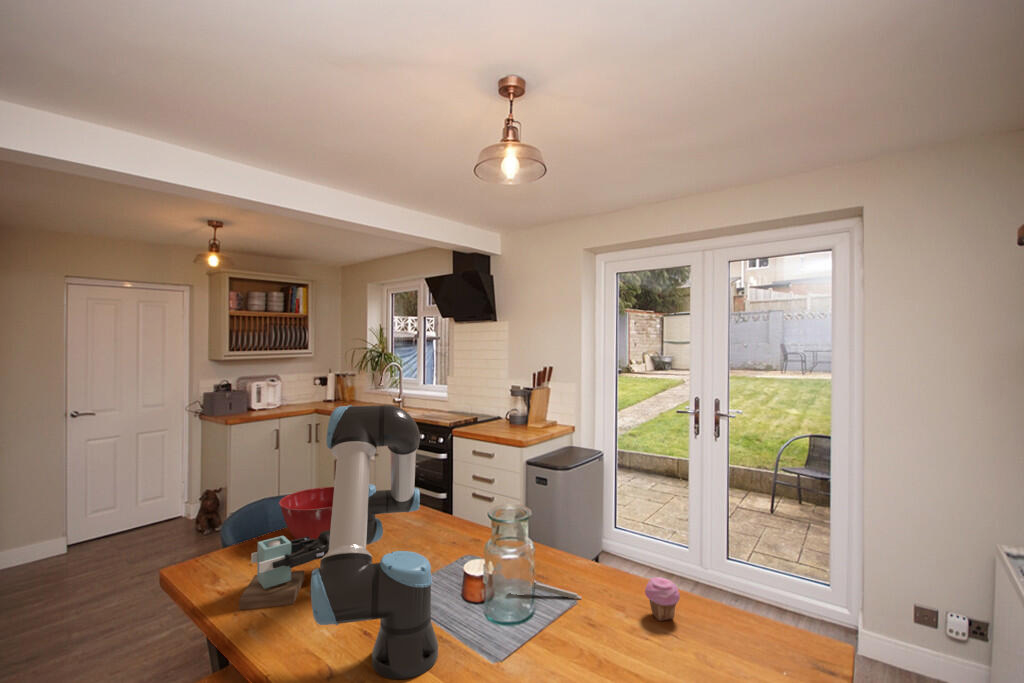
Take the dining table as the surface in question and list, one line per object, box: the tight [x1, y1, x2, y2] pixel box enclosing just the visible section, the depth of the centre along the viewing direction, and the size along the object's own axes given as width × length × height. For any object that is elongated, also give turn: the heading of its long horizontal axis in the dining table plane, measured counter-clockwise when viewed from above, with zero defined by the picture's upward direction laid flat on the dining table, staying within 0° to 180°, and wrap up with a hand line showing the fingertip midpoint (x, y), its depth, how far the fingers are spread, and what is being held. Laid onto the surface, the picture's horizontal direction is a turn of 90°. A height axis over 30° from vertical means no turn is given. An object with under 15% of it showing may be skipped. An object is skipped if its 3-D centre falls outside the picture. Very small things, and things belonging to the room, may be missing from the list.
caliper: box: [533, 579, 582, 600], centre depth 139 cm, size 20×1×6 cm, turn 81°
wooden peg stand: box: [238, 541, 305, 611], centre depth 139 cm, size 14×14×15 cm
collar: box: [256, 535, 292, 589], centre depth 140 cm, size 7×7×11 cm
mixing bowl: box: [278, 486, 334, 539], centre depth 181 cm, size 28×28×16 cm
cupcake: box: [644, 576, 681, 622], centre depth 129 cm, size 9×9×10 cm
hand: (255, 563), depth 136 cm, fingers closed on collar, 7 cm apart
